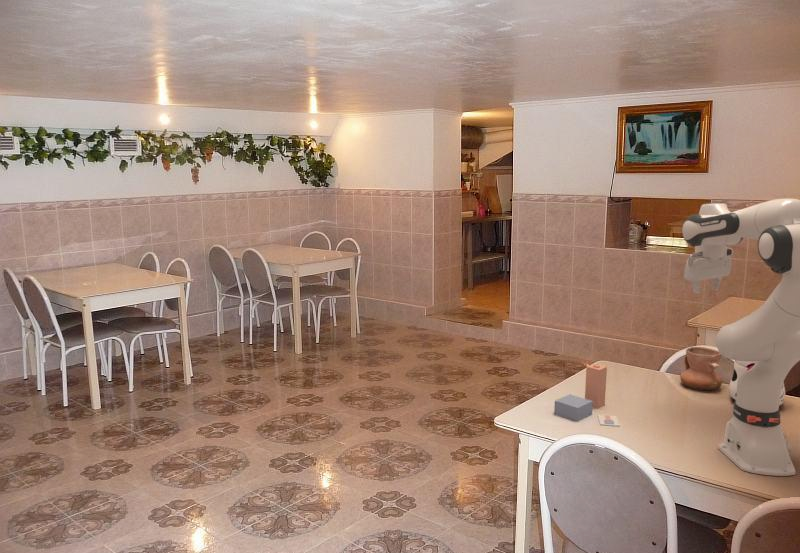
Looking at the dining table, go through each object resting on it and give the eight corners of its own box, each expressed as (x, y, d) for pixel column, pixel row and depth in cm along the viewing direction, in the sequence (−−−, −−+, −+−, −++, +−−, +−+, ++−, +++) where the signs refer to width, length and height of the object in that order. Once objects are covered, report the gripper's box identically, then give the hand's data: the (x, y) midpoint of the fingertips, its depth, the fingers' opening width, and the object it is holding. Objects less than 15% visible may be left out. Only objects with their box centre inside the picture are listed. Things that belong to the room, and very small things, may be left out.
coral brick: (604, 404, 230) (606, 365, 227) (597, 408, 226) (599, 368, 224) (592, 401, 233) (594, 362, 231) (584, 404, 230) (586, 365, 227)
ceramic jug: (732, 393, 241) (735, 355, 239) (697, 395, 238) (700, 357, 236) (701, 378, 258) (704, 343, 256) (668, 380, 256) (671, 344, 253)
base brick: (592, 415, 222) (592, 401, 221) (577, 422, 216) (577, 408, 215) (569, 407, 228) (569, 394, 227) (554, 414, 222) (554, 400, 221)
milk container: (771, 416, 219) (776, 365, 216) (719, 401, 232) (723, 353, 229) (791, 404, 230) (797, 354, 227) (741, 390, 243) (745, 344, 240)
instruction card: (619, 426, 211) (619, 425, 211) (600, 425, 213) (600, 423, 212) (616, 416, 219) (616, 415, 219) (597, 415, 220) (597, 414, 220)
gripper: (698, 255, 209) (694, 297, 212) (736, 249, 220) (732, 289, 222) (681, 252, 215) (677, 293, 217) (719, 247, 225) (715, 286, 228)
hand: (705, 291), depth 220 cm, fingers open, 8 cm apart
